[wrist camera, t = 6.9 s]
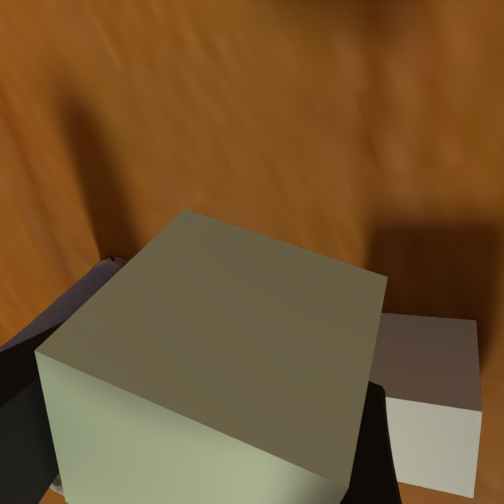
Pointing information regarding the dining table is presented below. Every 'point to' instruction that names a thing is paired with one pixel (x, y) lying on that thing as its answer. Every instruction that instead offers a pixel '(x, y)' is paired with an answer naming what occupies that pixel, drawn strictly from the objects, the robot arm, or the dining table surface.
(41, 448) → the robot arm
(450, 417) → the grey cube
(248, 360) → the green cube
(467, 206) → the dining table surface
